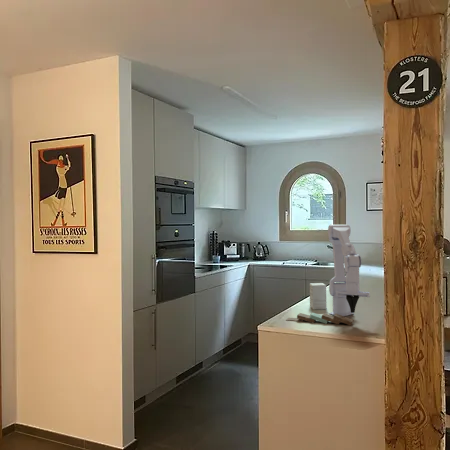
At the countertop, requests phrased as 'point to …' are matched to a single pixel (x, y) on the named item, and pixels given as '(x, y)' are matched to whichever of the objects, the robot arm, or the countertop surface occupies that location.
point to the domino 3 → (318, 318)
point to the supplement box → (318, 296)
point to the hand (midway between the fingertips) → (352, 312)
